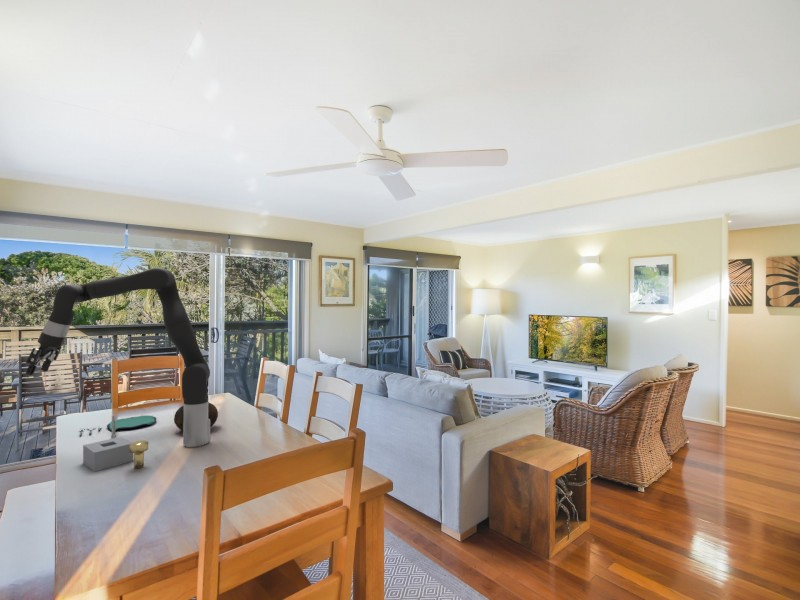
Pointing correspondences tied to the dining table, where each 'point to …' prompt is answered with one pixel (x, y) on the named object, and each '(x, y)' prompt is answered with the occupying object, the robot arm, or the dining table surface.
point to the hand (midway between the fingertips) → (36, 372)
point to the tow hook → (113, 428)
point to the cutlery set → (129, 423)
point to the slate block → (107, 453)
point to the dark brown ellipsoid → (211, 415)
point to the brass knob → (138, 453)
